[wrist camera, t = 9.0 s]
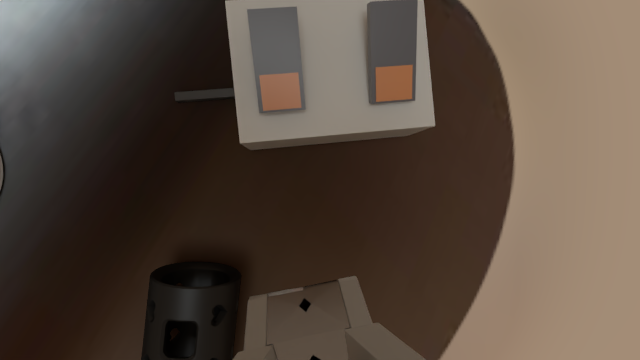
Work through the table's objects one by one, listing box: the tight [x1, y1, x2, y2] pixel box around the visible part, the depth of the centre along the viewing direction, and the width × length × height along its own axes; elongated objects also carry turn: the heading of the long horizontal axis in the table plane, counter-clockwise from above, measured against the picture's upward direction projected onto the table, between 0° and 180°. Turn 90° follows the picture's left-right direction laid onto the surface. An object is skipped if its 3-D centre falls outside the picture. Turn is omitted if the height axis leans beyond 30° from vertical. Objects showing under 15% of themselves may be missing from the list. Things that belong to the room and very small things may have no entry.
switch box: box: [174, 0, 435, 150], centre depth 36 cm, size 28×14×8 cm, turn 96°
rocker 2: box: [367, 0, 418, 104], centre depth 31 cm, size 4×9×2 cm, turn 6°
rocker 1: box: [247, 6, 306, 113], centre depth 30 cm, size 4×9×2 cm, turn 6°
